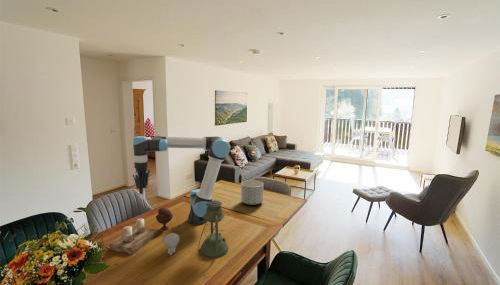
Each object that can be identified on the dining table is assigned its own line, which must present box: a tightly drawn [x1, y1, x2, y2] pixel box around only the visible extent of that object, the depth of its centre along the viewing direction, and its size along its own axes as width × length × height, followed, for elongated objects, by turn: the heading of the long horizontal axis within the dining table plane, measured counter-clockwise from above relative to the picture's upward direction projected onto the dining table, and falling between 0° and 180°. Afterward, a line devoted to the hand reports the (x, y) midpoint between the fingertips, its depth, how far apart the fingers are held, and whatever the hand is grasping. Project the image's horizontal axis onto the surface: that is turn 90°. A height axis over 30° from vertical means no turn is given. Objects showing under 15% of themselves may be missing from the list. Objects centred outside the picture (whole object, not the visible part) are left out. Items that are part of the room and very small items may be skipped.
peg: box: [123, 225, 133, 244], centre depth 152 cm, size 5×5×12 cm
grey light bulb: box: [163, 232, 180, 256], centre depth 145 cm, size 8×8×12 cm
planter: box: [240, 179, 264, 206], centre depth 219 cm, size 19×19×18 cm
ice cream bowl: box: [155, 207, 174, 232], centre depth 173 cm, size 11×11×15 cm
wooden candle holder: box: [109, 217, 158, 255], centre depth 157 cm, size 16×22×12 cm
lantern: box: [198, 199, 229, 259], centre depth 149 cm, size 21×18×30 cm
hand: (142, 198), depth 159 cm, fingers closed
